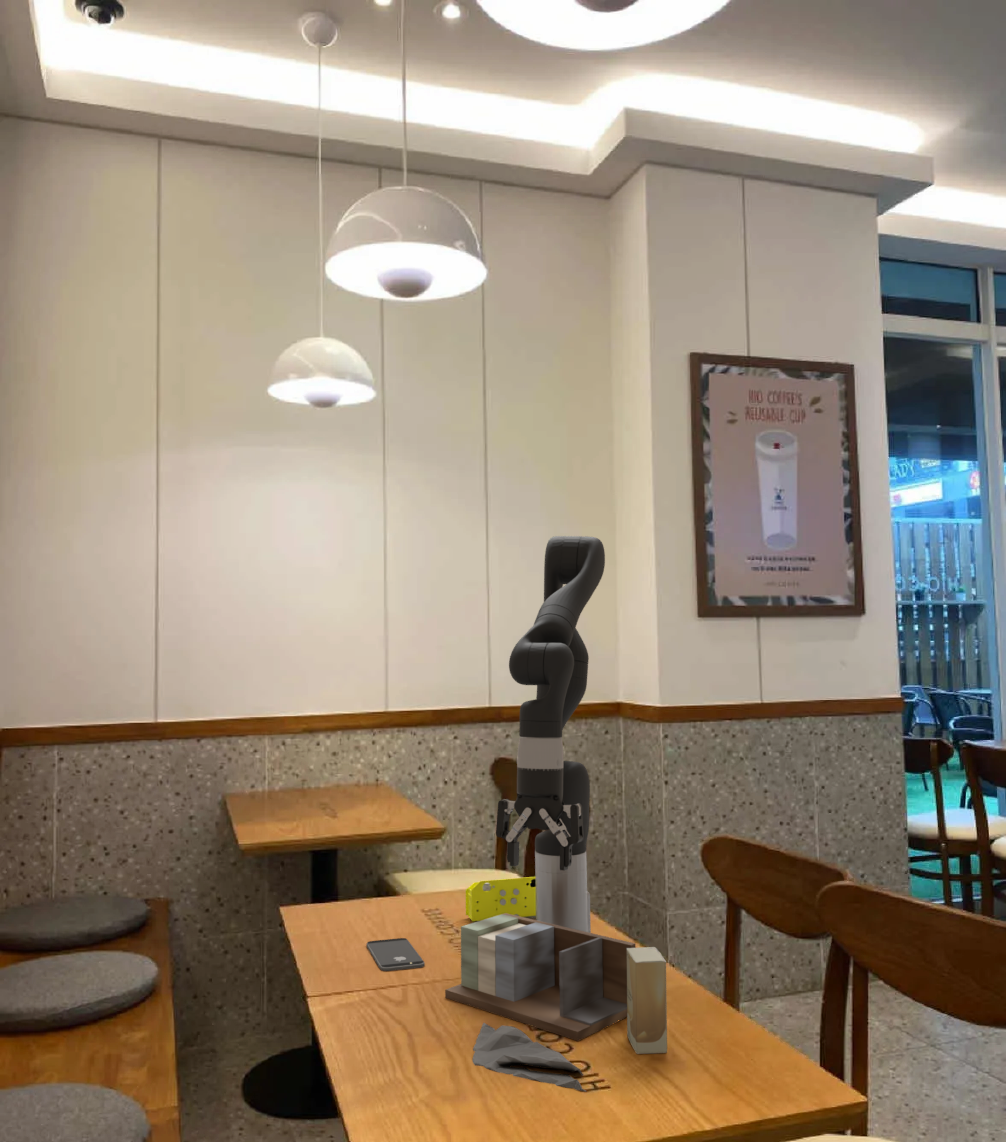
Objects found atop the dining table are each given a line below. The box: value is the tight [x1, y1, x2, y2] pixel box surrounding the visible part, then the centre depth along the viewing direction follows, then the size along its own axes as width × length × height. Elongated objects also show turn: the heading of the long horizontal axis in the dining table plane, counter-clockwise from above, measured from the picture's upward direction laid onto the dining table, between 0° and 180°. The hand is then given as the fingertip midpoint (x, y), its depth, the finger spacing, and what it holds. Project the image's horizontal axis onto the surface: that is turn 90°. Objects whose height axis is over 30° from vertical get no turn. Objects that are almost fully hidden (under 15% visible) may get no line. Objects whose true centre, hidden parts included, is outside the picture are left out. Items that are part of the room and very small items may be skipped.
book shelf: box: [444, 913, 636, 1042], centre depth 153 cm, size 14×26×10 cm, turn 48°
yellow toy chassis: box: [465, 876, 536, 922], centre depth 202 cm, size 16×6×8 cm, turn 106°
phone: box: [366, 937, 425, 972], centre depth 178 cm, size 8×1×16 cm
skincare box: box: [626, 946, 668, 1055], centre depth 138 cm, size 6×4×12 cm
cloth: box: [472, 1022, 588, 1092], centre depth 134 cm, size 26×14×2 cm, turn 18°
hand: (538, 867), depth 163 cm, fingers open, 8 cm apart
